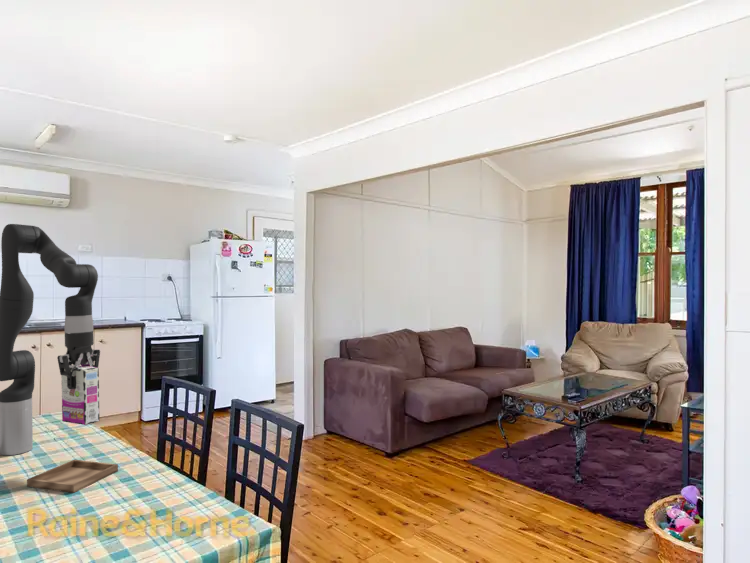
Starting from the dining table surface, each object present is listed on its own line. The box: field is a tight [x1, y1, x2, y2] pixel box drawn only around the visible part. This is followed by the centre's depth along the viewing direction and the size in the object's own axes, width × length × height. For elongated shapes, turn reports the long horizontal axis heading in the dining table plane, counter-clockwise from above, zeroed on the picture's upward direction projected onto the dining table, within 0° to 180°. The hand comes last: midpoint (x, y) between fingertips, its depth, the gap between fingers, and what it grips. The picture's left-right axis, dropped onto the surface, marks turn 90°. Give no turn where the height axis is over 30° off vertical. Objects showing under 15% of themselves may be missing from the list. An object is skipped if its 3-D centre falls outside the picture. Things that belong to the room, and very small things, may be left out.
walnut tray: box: [26, 459, 119, 494], centre depth 149 cm, size 16×16×2 cm
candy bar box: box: [61, 365, 100, 426], centre depth 156 cm, size 11×5×16 cm, turn 63°
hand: (80, 386), depth 156 cm, fingers closed on candy bar box, 5 cm apart
